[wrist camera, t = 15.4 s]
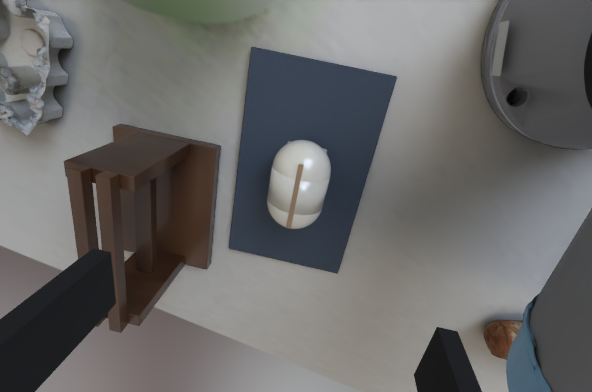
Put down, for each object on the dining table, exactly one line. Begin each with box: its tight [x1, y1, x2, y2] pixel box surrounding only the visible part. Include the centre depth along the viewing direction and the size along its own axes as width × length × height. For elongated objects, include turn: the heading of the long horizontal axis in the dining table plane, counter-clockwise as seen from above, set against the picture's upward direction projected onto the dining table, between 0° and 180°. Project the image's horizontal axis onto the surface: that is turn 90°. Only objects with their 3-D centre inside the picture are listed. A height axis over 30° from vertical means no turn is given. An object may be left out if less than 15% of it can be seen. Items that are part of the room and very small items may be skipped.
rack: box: [64, 124, 221, 332], centre depth 28 cm, size 10×14×11 cm
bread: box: [484, 320, 523, 359], centre depth 31 cm, size 6×19×6 cm, turn 83°
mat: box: [229, 47, 397, 273], centre depth 30 cm, size 12×20×1 cm, turn 169°
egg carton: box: [0, 0, 73, 135], centre depth 27 cm, size 11×8×4 cm
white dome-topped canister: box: [267, 140, 331, 229], centre depth 27 cm, size 5×8×5 cm, turn 169°
